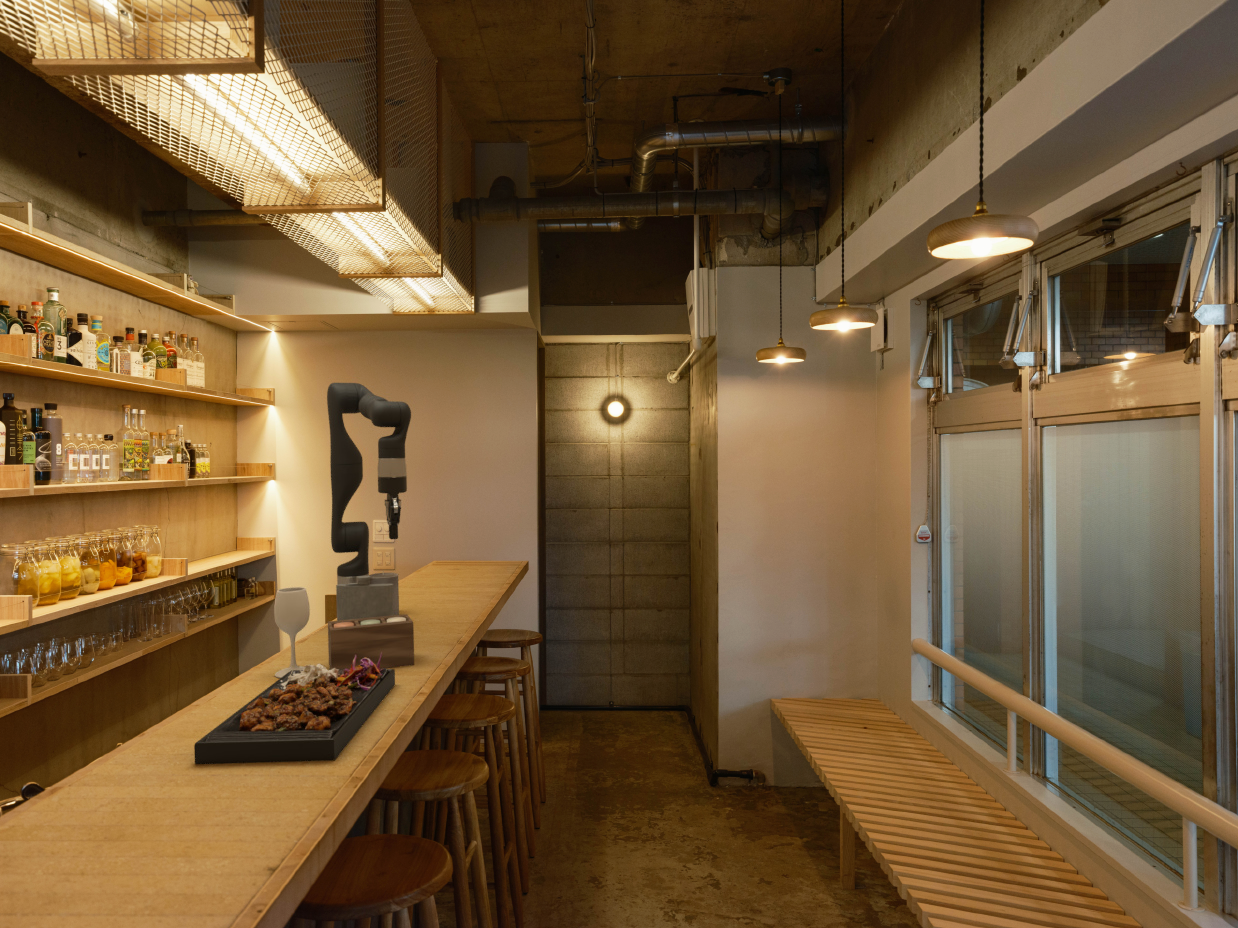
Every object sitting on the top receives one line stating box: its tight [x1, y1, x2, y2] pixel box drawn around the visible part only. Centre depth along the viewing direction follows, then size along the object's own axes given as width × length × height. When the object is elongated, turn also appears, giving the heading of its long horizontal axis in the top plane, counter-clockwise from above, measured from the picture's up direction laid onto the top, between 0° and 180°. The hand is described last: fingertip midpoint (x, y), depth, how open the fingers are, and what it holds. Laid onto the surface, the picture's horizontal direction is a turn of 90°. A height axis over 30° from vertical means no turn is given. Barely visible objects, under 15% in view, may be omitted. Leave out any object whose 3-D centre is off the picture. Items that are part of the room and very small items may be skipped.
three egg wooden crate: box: [327, 613, 415, 670], centre depth 206 cm, size 11×20×11 cm, turn 113°
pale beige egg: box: [387, 617, 406, 623], centre depth 209 cm, size 5×5×4 cm
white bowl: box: [273, 586, 311, 679], centre depth 199 cm, size 9×9×21 cm
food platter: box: [193, 652, 396, 766], centre depth 166 cm, size 45×25×10 cm, turn 2°
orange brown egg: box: [334, 622, 354, 628], centre depth 204 cm, size 5×5×4 cm
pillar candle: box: [369, 570, 400, 615], centre depth 265 cm, size 10×10×15 cm
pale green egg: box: [361, 620, 380, 625], centre depth 206 cm, size 5×5×4 cm
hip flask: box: [335, 576, 394, 621], centre depth 224 cm, size 16×4×20 cm, turn 87°
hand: (393, 538), depth 217 cm, fingers closed
